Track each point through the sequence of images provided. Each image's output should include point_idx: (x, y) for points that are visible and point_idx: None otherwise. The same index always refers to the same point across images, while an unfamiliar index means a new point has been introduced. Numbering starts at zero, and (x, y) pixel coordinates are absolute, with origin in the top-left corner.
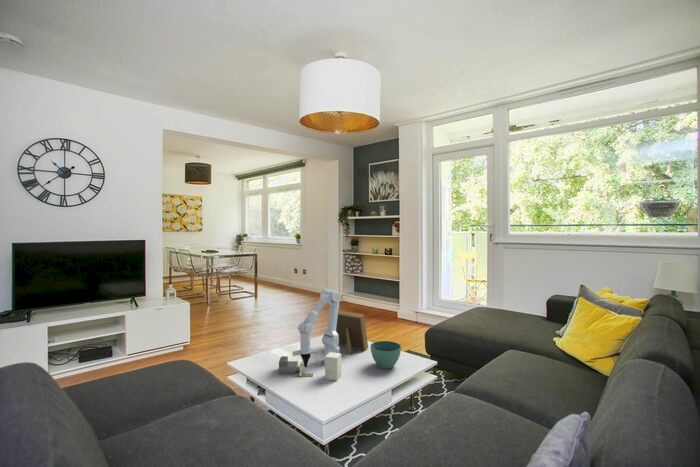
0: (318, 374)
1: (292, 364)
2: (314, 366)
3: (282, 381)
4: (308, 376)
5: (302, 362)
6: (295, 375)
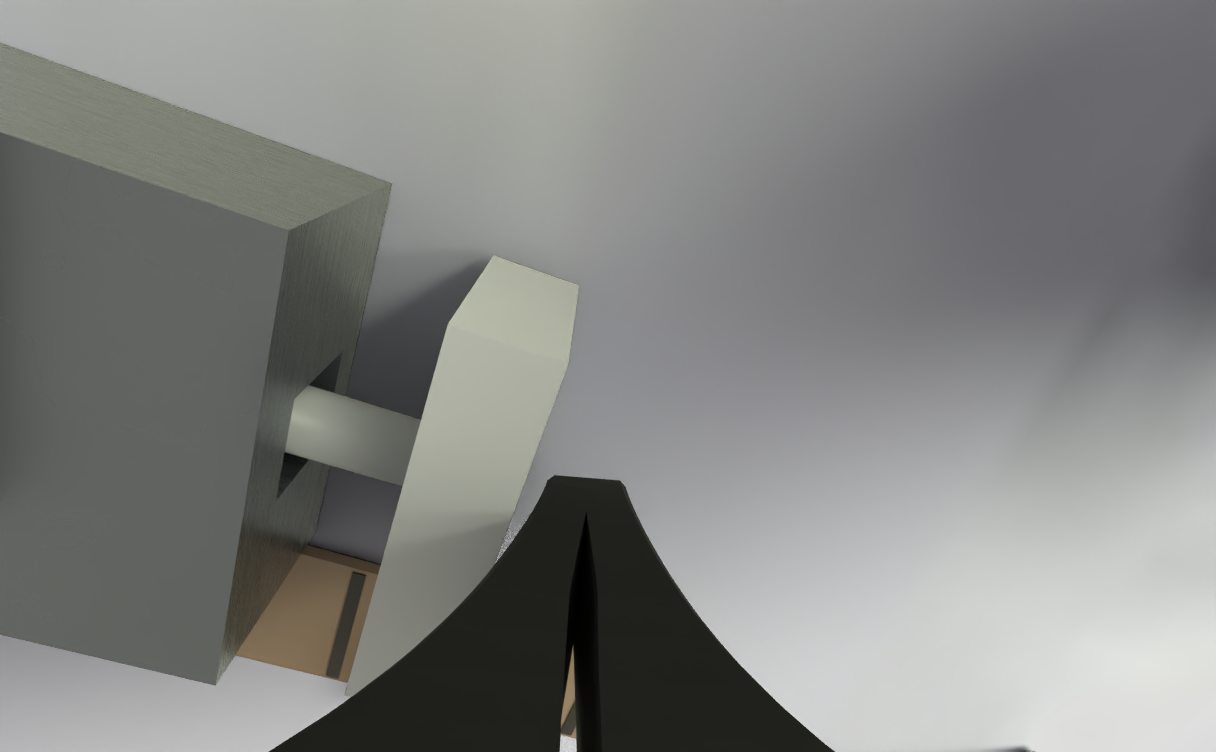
0: (806, 700)
1: (69, 479)
2: (936, 271)
3: (23, 729)
4: (571, 732)
5: (498, 437)
6: (293, 629)
